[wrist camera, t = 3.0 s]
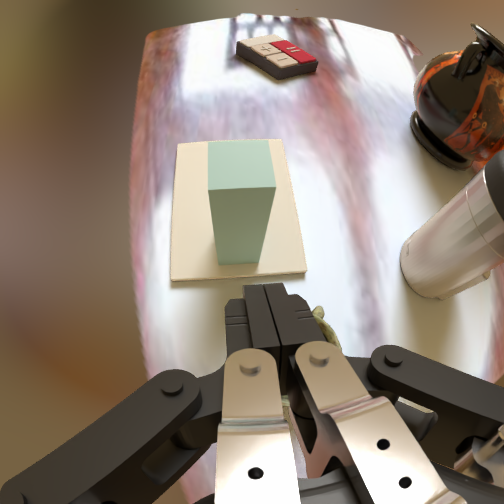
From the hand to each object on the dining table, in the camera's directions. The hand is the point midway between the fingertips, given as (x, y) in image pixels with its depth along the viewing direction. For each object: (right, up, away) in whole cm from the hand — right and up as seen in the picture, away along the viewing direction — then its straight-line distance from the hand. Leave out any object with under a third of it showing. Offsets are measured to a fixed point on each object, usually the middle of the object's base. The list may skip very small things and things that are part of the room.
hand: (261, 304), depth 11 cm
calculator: (+5, +44, +40) cm, 59 cm away
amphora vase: (+39, +25, +33) cm, 57 cm away
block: (-2, +3, +21) cm, 21 cm away
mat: (-3, +8, +24) cm, 25 cm away
